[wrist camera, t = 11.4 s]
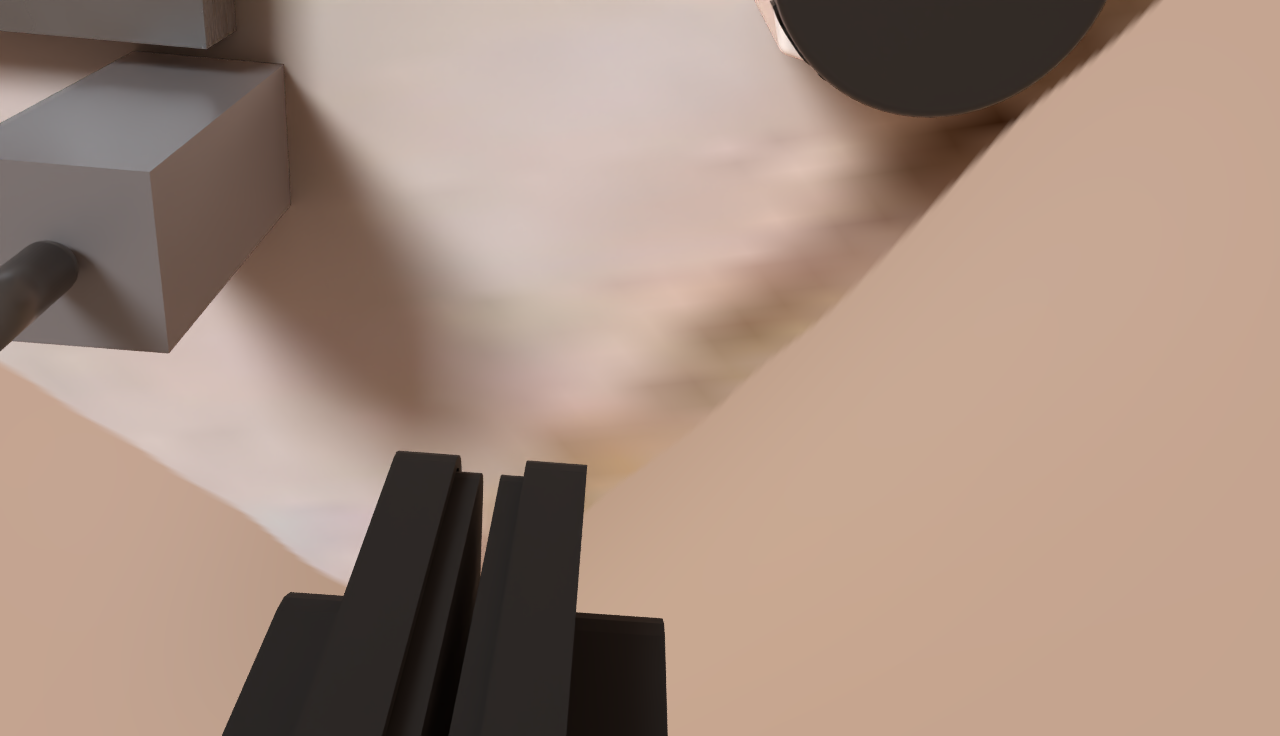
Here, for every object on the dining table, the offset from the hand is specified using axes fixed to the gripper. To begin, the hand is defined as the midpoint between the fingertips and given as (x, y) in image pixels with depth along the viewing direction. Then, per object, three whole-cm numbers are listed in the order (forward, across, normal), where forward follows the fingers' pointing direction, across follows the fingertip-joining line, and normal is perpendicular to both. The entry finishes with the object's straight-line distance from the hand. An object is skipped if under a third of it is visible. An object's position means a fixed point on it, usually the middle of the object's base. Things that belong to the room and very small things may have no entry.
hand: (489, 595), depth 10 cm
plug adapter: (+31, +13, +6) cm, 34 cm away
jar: (+31, -8, -4) cm, 33 cm away
